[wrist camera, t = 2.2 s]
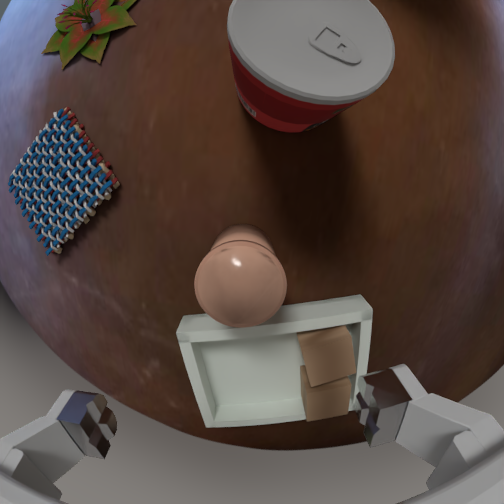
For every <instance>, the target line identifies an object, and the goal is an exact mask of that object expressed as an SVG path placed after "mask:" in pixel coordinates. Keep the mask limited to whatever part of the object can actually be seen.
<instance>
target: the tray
mask: <svg viewBox="0 0 504 504" xmlns="http://www.w3.org/2000/svg"><path fill="white" fill-rule="evenodd" d="M372 314H373V309H372V307H371V306H370V305H369V304H368V303H367V301H366V300H365V299H364V298H363V297H362V295H361V294H360V295H353V296H347V297H341V298H334V299H328V300H321V301H314V302H307V303H300V304H292V305H284V306H281V307H280V308H279V310H278V311H277V312H276V313H275V314H274V315H273V316H272V317H271V318H270V319H268V320H267V321H265V322H263V323H261V324H258V325H255V326H252V327H244V328H238V327H231V326H227V325H224V324H222V323H219V322H217V321H216V320H214V319H213V318H211V317H210V316H209V315H208V314H197V315H185V316H183V318H182V320H181V322H180V325H179V327H178V329H177V332H176V334H177V338H178V341H179V345H180V348H181V352H182V355H183V359H184V362H185V365H186V369H187V372H188V375H189V378H190V381H191V385H192V388H193V391H194V394H195V397H196V400H197V403H198V405H199V408H200V411H201V414H202V417H203V420H204V422H205V425H206V427H235V426H251V425H263V424H273V423H282V422H290V421H297V420H304V419H306V416H305V411H304V406H303V402H302V397H301V381H300V366H303V365H305V363H304V359H303V356H302V352H301V348H300V344H299V341H298V337H297V333H296V332H301V331H308V330H314V329H321V328H327V327H333V326H339V325H345V326H346V328H347V330H348V331H349V333H350V335H351V337H352V344H353V351H354V359H355V366H356V373H354V374H351V375H349V376H348V378H349V380H350V383H351V385H352V386H351V394H350V402H349V409H348V411H351V410H356V409H355V399H356V395H357V394H358V393H359V388H358V386H357V383H358V378H359V376H361V375H365V374H366V373H367V365H368V357H369V348H370V338H371V327H372Z"/></svg>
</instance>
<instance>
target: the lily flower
mask: <svg viewBox="0 0 504 504" xmlns="http://www.w3.org/2000/svg"><path fill="white" fill-rule="evenodd" d="M87 1H88V2H87ZM118 1H119V2H122V1H125V0H86V2H85V0H75V2H74V5H72V6H69V7H68V8H66V9H63V10H64V11H63V12H62V13H59V14H58V15H60V16H59V17H56V18H55V20H56V27H57V29H58V30H57V31H56V32H55V33H54V34H53V36H52V37H51V39H50V40H49V42H48V44H47V46H46V49H45V50H44V51H43V52H42V53H41V54H43V53H47V52H49V51H50V52H54V51H59V50H60V59H61V62H62V63H63V64H62V70H63V68H64V66H66V64H67V63H68V62H69V60H70V59H72V58H73V57H74V55H75V54H76V53H77V52H78V51H80V53H81V54H82V55H84V56H86V57H88V58H90V59H92V60H96V59H97V60H96V61H97V62H98V63H99V64H100V61H101V58H102V55H103V50H104V49H105V47H106V44H107V42H108V39H109V36H110V31H112V30H116V29H119V28H123V27H126V26H128V25H137V24H136V23H134V22H133V20H132V18H131V17H129V14H128V12H127V11H126V10H127V9H128V8H129V7H130V6H131V5H132V4H133V3H134V2H135V1H136V0H127V1H126V2H124V3H123V4H122V5H121V6H118V5H115V6H111V4H112V3H113V2H118ZM84 3H85V4H84ZM86 3H87V5H86ZM63 6H65V5H63ZM110 6H111V7H110ZM66 7H67V6H66ZM97 9H99V10H100V14H101V22H99V23H98V24H96V25H95V26H93V27H92V28H90V29H88V30H86V31H83V28H82V25H81V24H82V23H86V22H88V23H90V22H91V20H92V17H91V16H90V13H91V12H94V11H95V10H97ZM81 19H86V20H81ZM69 31H70V32H69ZM68 32H69V33H68ZM67 33H68V34H67ZM92 33H94V34H99V36H98V38H97V40H96V42H94V41H93V40H91V39H89V38H90V37H91V35H92ZM66 34H67V35H66ZM65 35H66V36H65ZM63 38H64V39H63Z"/></svg>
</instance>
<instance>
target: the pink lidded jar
mask: <svg viewBox="0 0 504 504" xmlns="http://www.w3.org/2000/svg"><path fill="white" fill-rule="evenodd" d="M286 290H287V281H286V276H285V272H284V269H283V267H282V265H281V263H280V261H279V260H278V258H277V257H276V255H275V252H274V249H273V246H272V243H271V241H270V239H269V237H268V236H267V235H266V233H264V232H263V231H262V230H261V229H259V228H258V227H256V226H253V225H249V224H236V225H232V226H230V227H228V228H226V229H225V230H223V231H222V232H221V233H220V234H219V235H218V236H217V238H216V240H215V242H214V244H213V246H212V248H211V250H210V252H208V253H207V255H206V256H205V257H204V258H203V260H202V261H201V263H200V265H199V267H198V269H197V272H196V276H195V293H196V297H197V299H198V302H199V304H200V305H201V307H202V308H203V310H204V311H205V312H206V313H207V314H208V315H209V316H210V317H211V318H213V319H214V320H216V321H217V322H219V323H222V324H224V325H227V326H231V327H238V328H244V327H252V326H255V325H258V324H261V323H263V322H265V321H267V320H268V319H270V318H271V317H272V316H273V315H274V314H275V313H276V312H277V311H278V310H279V308H280V307H281V305H282V303H283V301H284V299H285V295H286Z"/></svg>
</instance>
